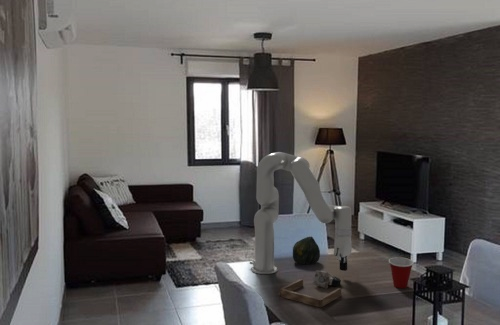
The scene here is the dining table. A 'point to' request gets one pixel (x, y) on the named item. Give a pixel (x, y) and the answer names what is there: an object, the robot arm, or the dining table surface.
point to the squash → (306, 251)
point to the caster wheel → (325, 279)
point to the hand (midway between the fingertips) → (343, 269)
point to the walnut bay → (321, 302)
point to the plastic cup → (400, 271)
